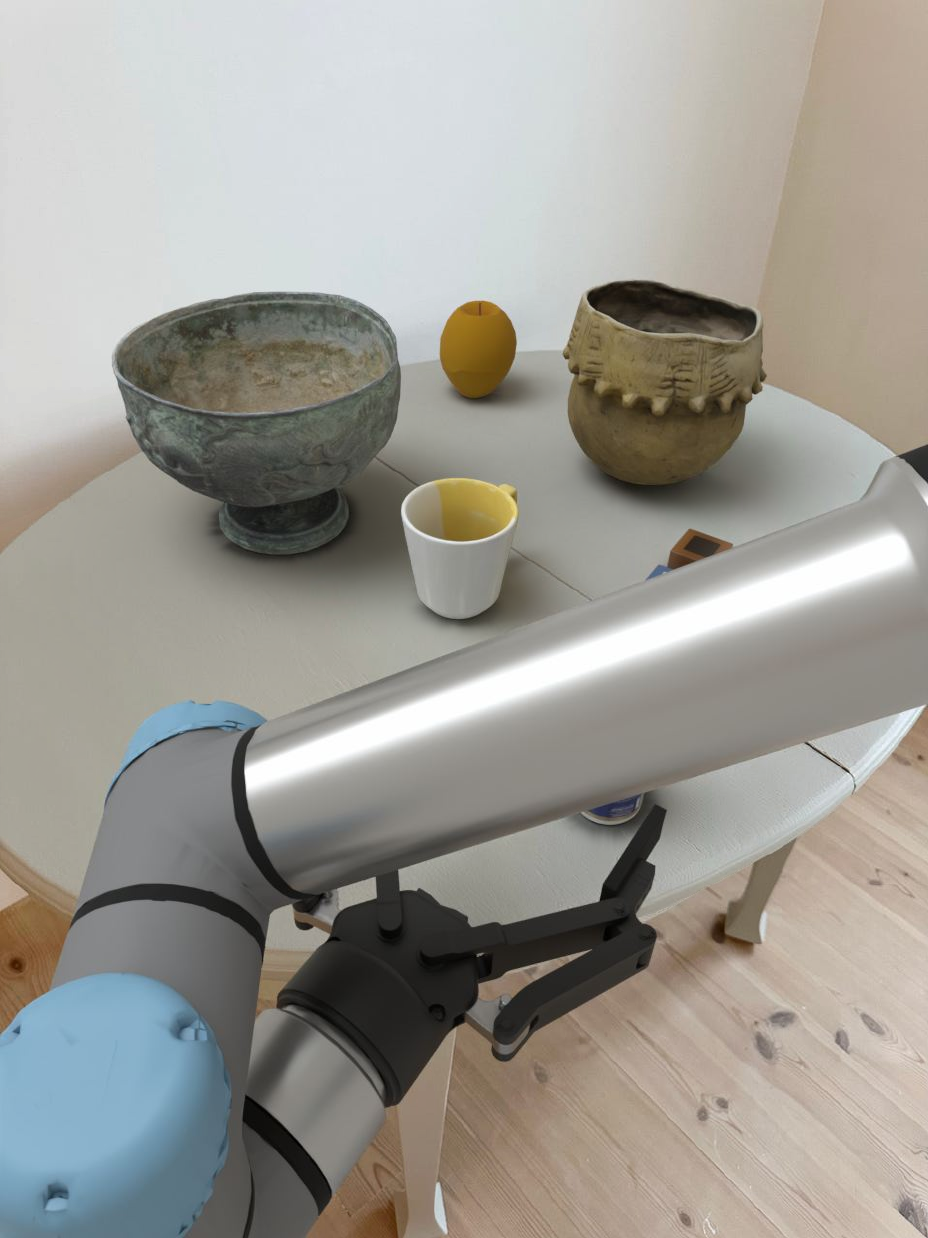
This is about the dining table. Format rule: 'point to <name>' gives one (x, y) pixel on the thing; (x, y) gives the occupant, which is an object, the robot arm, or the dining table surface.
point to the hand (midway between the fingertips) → (555, 769)
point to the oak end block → (695, 548)
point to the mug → (459, 543)
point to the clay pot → (660, 378)
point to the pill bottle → (615, 811)
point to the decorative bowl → (264, 407)
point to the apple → (477, 348)
